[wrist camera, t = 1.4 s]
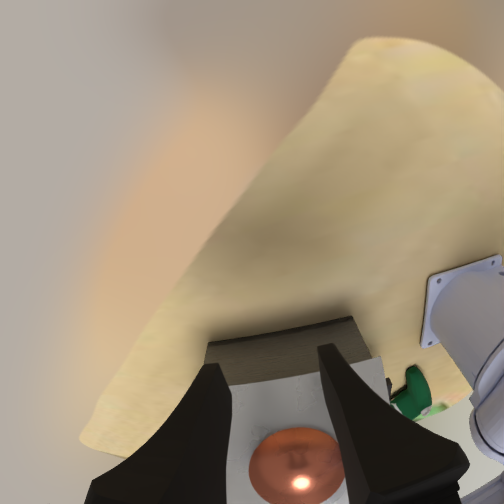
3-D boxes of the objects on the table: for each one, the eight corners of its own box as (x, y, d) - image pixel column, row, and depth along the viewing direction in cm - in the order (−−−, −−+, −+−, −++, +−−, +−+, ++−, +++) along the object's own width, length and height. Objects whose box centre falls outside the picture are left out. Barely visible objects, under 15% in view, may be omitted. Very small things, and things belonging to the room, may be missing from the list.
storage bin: (374, 310, 22) (399, 352, 17) (369, 397, 26) (383, 436, 21) (186, 345, 23) (172, 392, 18) (224, 422, 28) (221, 463, 23)
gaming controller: (350, 404, 29) (374, 440, 27) (343, 413, 26) (369, 453, 23) (414, 359, 27) (439, 398, 24) (415, 365, 24) (442, 407, 21)
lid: (377, 357, 17) (381, 355, 16) (398, 516, 11) (402, 520, 10) (192, 389, 18) (186, 389, 17) (217, 541, 12) (213, 546, 11)
